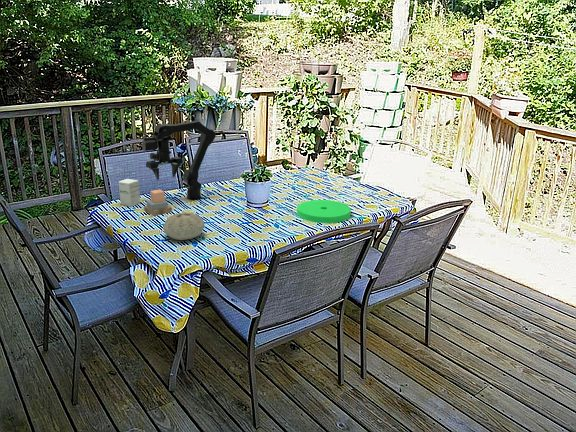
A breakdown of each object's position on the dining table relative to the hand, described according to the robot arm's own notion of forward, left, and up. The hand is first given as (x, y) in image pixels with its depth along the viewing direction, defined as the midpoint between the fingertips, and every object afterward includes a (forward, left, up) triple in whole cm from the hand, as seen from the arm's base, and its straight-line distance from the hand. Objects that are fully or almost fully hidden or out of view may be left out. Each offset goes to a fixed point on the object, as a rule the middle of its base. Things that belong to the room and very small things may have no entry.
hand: (165, 178), depth 263 cm
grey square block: (+11, +10, -11) cm, 19 cm away
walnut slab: (+11, +10, -14) cm, 20 cm away
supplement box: (+16, -10, -13) cm, 23 cm away
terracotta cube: (+11, +10, -8) cm, 16 cm away
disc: (-50, +67, -14) cm, 85 cm away
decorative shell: (+19, +47, -13) cm, 52 cm away
